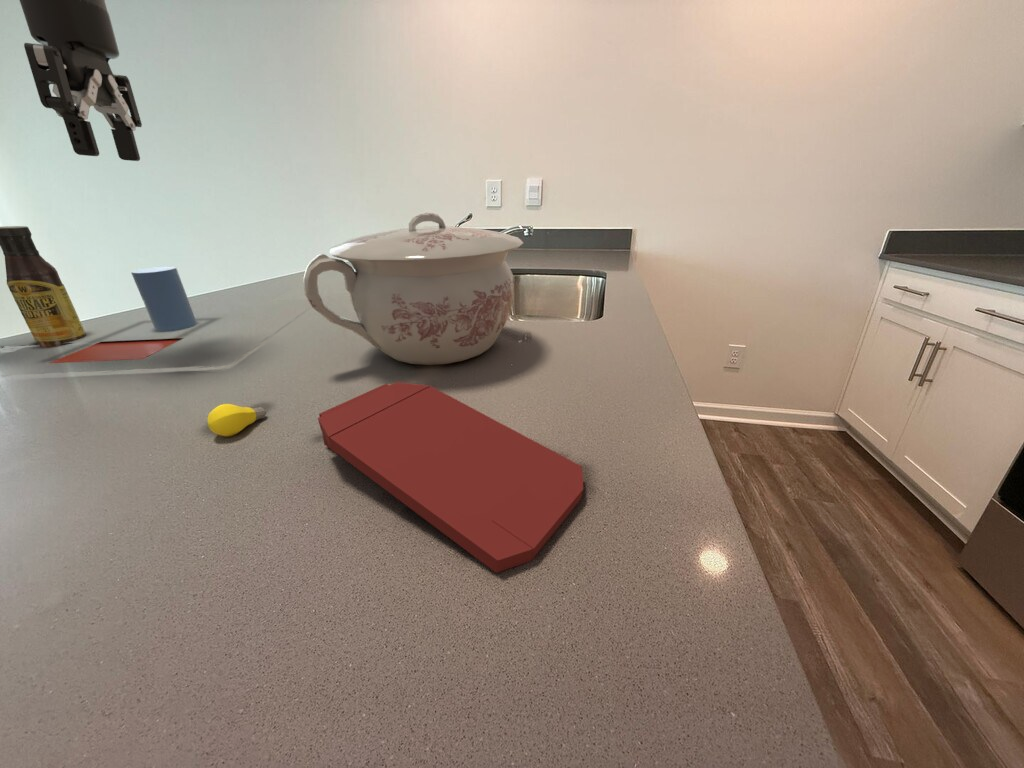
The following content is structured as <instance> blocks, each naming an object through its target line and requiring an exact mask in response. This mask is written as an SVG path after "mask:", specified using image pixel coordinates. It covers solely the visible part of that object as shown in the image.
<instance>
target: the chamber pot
mask: <svg viewBox="0 0 1024 768" xmlns="http://www.w3.org/2000/svg"><path fill="white" fill-rule="evenodd" d="M424 222H425V223H426V222H432V223H435V224H438V226H418V225H419V224H422V223H424ZM417 226H418V227H417ZM523 244H524V241H522V239H520V237H518V236H514V235H509V233H505V232H500V231H494V230H488V229H483V228H472V227H461V226H446V223H445V222H444V219H443V218H442V217H441V216H440V215H439V214H437V213H433V212H423V213H420V214H417V215H415V216H414V217H412V219H411V220H410V221H409V223H408V227H405V228H398V229H392V230H387V231H380V232H375V233H371V234H370V233H369V234H365V235H362V236H357V237H354V238H349V239H347V240H345V241H343V242H341V243H338V244H335V245H334V246H331V247H330V248H329V250H328V251H329V254H330V255H331V256H332V257H329V256H328V255H327V254H325V253H320V254H317V255H316V256H315V257H314V258H312V259H310V261H309V263H308V264H307V266H306V268H305V270H304V275H303V279H302V282H303V289H304V296H305V297H306V299H307V301H308V303H309V304H310V307H311V308H312V309H313V310H315V311H316V312H317V313H319V314H320V315H321V316H322V317H323V318H324V319H326V320H327V321H329V323H332V324H334V325H336V326H339V327H342V328H344V329H347V330H349V331H352V332H353V333H354V334H356V335H358V336H360V337H361V338H362V339H364V340H365V341H366V342H368V343H369V344H370V345H372V346H373V347H374V348H376V349H379V350H380V351H381V352H382V353H384V354H385V355H387V356H389V357H390V358H392V359H394V360H395V361H398V362H402V363H407V364H411V365H423V366H424V365H426V366H434V365H435V366H439V365H440V366H441V365H449V364H454V363H460V362H463V361H466V360H469V359H471V358H476V357H478V356H480V355H481V354H483V353H485V352H487V351H488V350H489V349H490V348H492V346H493V345H494V344H495V342H496V341H497V340H498V338H499V336H500V334H501V332H502V331H503V329H504V327H505V325H506V324H507V322H508V320H509V319H510V317H511V312H512V307H513V301H514V295H515V275H514V274H513V272H512V270H511V268H510V265H509V264H508V262H507V261H506V260H507V257H508V254H509V252H512V251H515V250H517V249H518V248H520V247H521V246H522V245H523ZM344 260H345V261H344ZM346 261H347V262H349V263H350V264H351V265H350V264H348V263H347V262H346ZM329 271H333V272H334V271H335V272H338V273H341V274H342V276H343V280H344V286H345V290H346V291H347V292H348V294H349V298H350V299H349V300H350V303H351V304H352V307H353V309H354V311H355V314H356V317H357V319H358V320H354V319H350V318H347V317H344V316H340V315H339V314H337V312H335V311H334V310H332V309H331V308H330V307H328V306H327V305H326V304H325V303H324V301H323V299H322V297H321V295H320V291H319V284H318V279H319V275H321V274H322V273H325V272H329Z"/></svg>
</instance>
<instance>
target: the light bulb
mask: <svg viewBox="0 0 1024 768" xmlns="http://www.w3.org/2000/svg"><path fill="white" fill-rule="evenodd" d="M266 415H267V410H266V409H264V408H263V407H262V406H259V407H255V408H252V407H250V406H249V407H248V406H241V405H236V404H231V403H222V404H220V405H217V406H216V407H215V408H213V409H212V410H211V411H210V412H209V413H208V415H207V420H206V422H207V426H208V428H209V430H210V431H211V432H212V433H214V434H216V435H218V436H222V437H233V436H235V435H237V434H239V433H240V432H241V431H242V430H244V429H245V428H247V426H249V425H252V424H253V423H254V422H255V421H258V420H259V421H260V420H263V419H265V418H266Z"/></svg>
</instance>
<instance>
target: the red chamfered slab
mask: <svg viewBox="0 0 1024 768" xmlns="http://www.w3.org/2000/svg"><path fill="white" fill-rule="evenodd" d="M318 416H319V417H317V421H318V424H319V428H320V431H321V433H322V439H323V444H324V445H325V446H326V447H327V448H329V450H331V451H332V452H334V453H335V454H337V455H338V456H340V457H341V458H342V459H344V460H345V461H346V462H348V463H349V464H350V465H352V466H353V467H354V468H356V469H357V470H358V471H360V472H361V473H362V474H363V475H365V476H366V477H368V478H369V479H371V480H372V481H373V482H374V483H376V484H377V485H378V486H380V487H381V488H382V489H384V490H385V491H386V492H388V493H389V494H390V495H392V496H393V497H394V498H395V499H397V500H398V501H400V502H401V503H403V504H404V505H405V506H406V507H408V508H409V509H410V510H411V511H413V512H414V513H416V514H417V515H418V516H420V517H421V518H423V519H424V520H425V521H426V522H427V523H429V524H430V525H432V526H433V527H434V528H435V529H437V530H438V531H440V532H441V533H442V534H444V535H445V536H446V537H447V538H449V539H450V540H452V541H453V542H454V543H456V544H457V545H458V546H460V547H461V548H462V549H464V550H465V551H466V552H468V553H469V554H470V555H472V556H473V557H474V558H476V560H478V561H479V562H481V563H482V564H483V565H485V566H486V567H488V568H489V569H490V570H491V571H493V572H494V573H495V574H497V573H500V572H503V571H506V570H509V569H513V568H514V567H517V566H521V565H523V564H526V563H529V562H532V561H533V560H534V558H535V557H536V556H537V555H538V553H539V552H540V551H541V550H542V549H543V547H544V546H545V545H546V544H547V543H548V541H549V540H550V539H551V537H552V536H553V535H554V534H555V533H556V531H557V530H558V529H559V527H560V526H561V525H562V524H563V523H564V521H565V520H566V519H567V518H568V516H569V515H570V514H571V513H572V511H573V510H574V509H575V508H576V506H578V504H579V503H580V501H581V500H582V496H583V492H584V473H583V472H584V471H583V466H582V465H581V464H579V463H576V462H574V461H573V460H571V459H570V458H567V457H565V456H563V455H562V454H560V453H558V452H556V451H554V450H552V449H550V448H548V447H546V446H544V445H542V444H541V443H539V442H537V441H535V440H533V439H531V438H529V437H527V436H526V435H523V434H522V433H520V432H519V431H516V430H514V429H512V428H510V427H509V426H507V425H505V424H503V423H501V422H499V421H497V420H496V419H493V418H492V417H490V416H488V415H486V414H484V413H482V412H480V411H479V410H476V409H475V408H473V407H471V406H469V405H468V404H465V403H463V402H462V401H459V400H458V399H456V398H454V397H452V396H451V395H449V394H446V393H445V392H443V391H441V390H440V389H437V388H435V387H433V386H432V385H426V384H419V383H417V384H416V383H410V382H409V383H408V382H399V381H396V382H393V383H391V384H389V383H384V384H382V385H380V386H377V387H375V388H373V389H371V390H368V391H367V392H364V393H362V394H360V395H357V396H355V397H353V398H350V399H348V400H347V401H345V402H342V403H339V404H337V405H335V406H333V407H331V408H328V409H327V410H324V411H322V412H320V413H318Z"/></svg>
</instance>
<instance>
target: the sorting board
mask: <svg viewBox="0 0 1024 768" xmlns="http://www.w3.org/2000/svg"><path fill="white" fill-rule="evenodd" d="M183 339H184V337H176V338H174V337H173V338H152V339H129V340H127V339H126V340H109V341H108V340H107V341H99V342H97V343H95V344H92V345H90V346H87V347H84V348H82V349H79V350H77V351H74V352H71V353H70V354H67V355H65V356H62V357H59V358H57V359H55V360H52V361H49V364H65V363H84V362H85V363H87V362H107V361H110V362H111V361H128V360H129V361H130V360H131V361H132V360H145V359H146V358H148V357H150V356H152V355H153V354H155V353H158V352H159V351H162V350H163V349H166V348H167V347H170V346H172V345H173V344H175V343H178V342H179V341H182V340H183Z"/></svg>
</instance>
